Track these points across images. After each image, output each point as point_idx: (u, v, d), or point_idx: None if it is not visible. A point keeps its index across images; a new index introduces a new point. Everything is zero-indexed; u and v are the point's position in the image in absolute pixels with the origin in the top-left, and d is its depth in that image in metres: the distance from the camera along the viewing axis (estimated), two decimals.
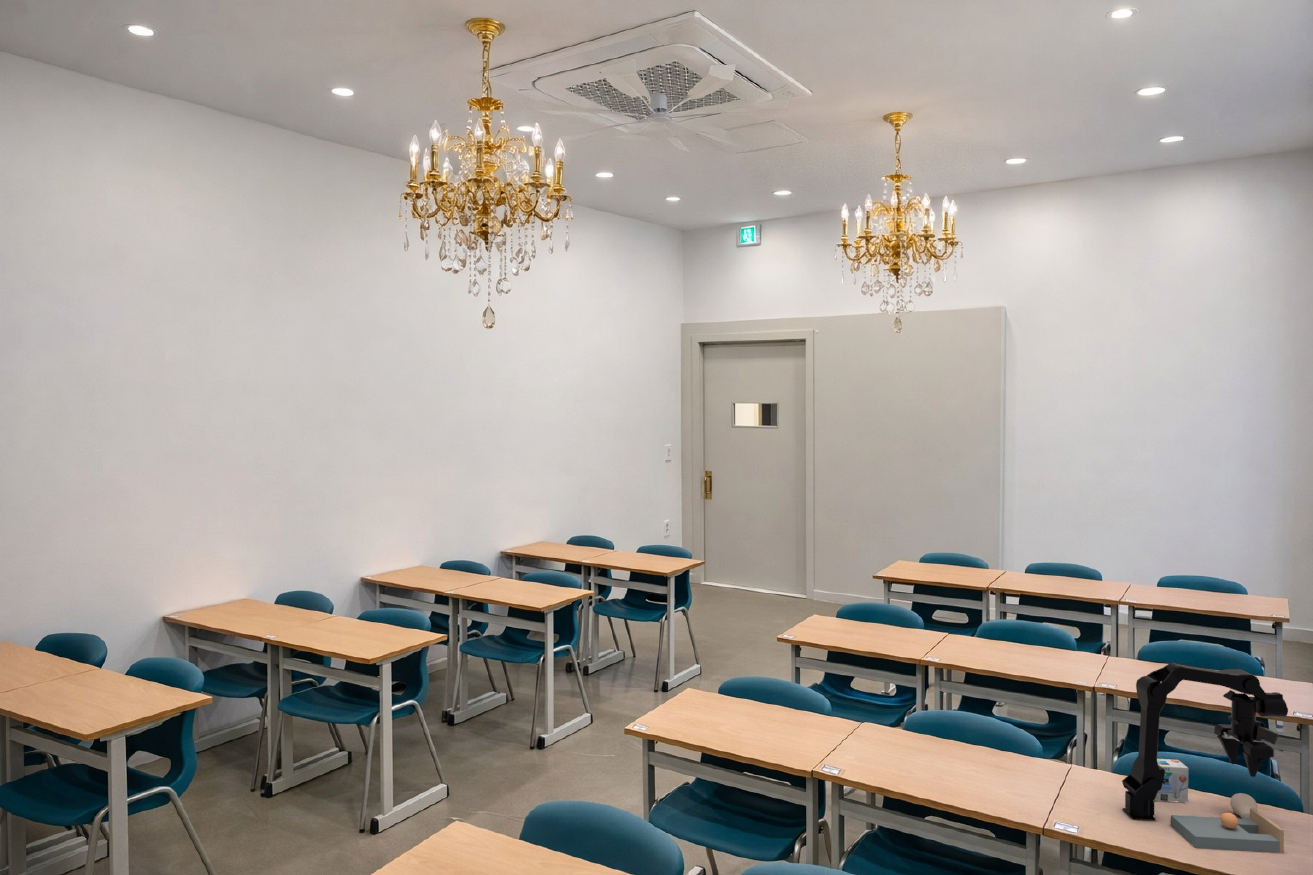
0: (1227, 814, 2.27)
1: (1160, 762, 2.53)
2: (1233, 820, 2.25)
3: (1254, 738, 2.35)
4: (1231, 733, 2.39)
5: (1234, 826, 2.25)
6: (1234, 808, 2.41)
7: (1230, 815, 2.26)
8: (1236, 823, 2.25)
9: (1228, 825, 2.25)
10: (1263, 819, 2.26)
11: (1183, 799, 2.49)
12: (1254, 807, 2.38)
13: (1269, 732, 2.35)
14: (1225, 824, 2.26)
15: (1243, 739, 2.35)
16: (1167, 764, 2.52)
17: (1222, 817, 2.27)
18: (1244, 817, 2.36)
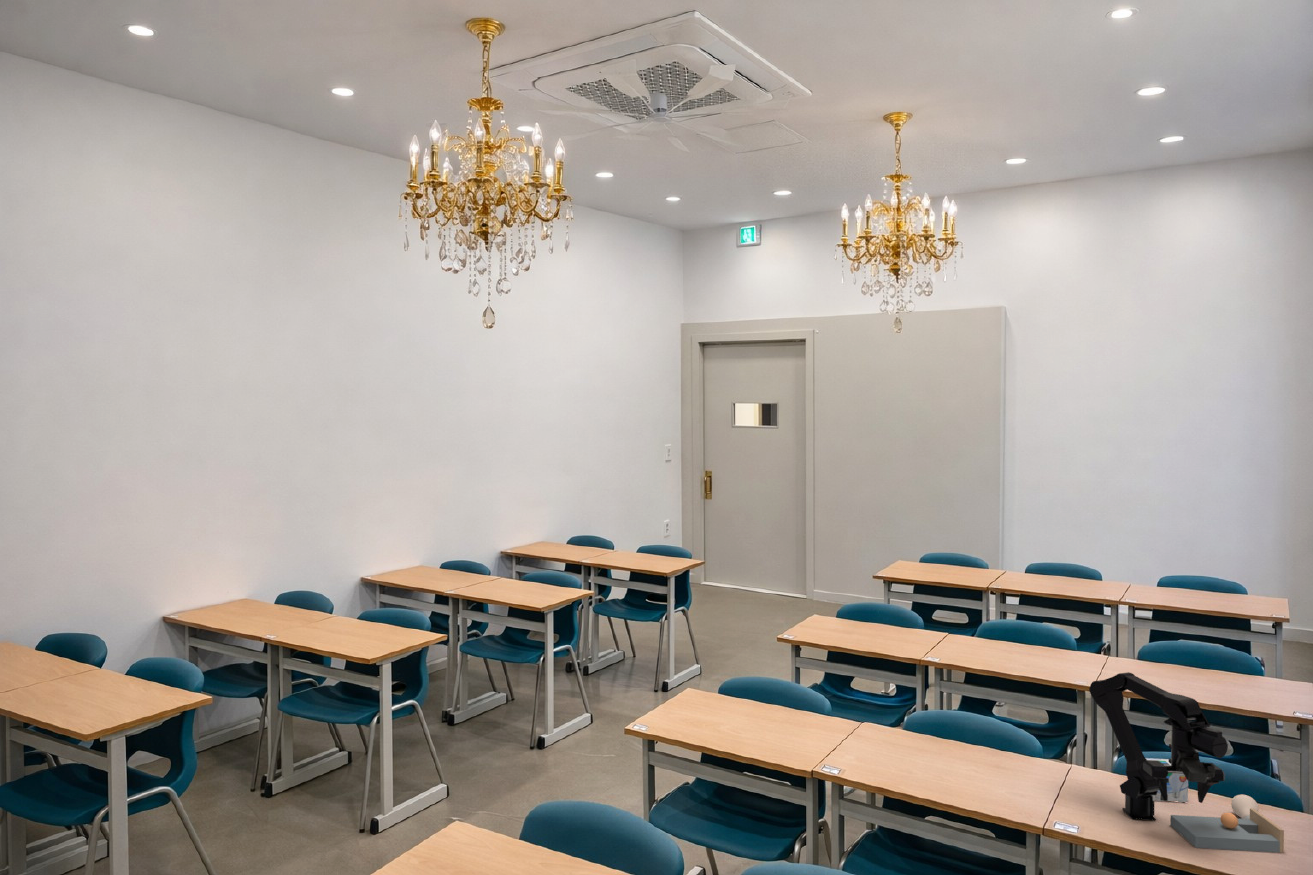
0: (1227, 814, 2.27)
1: None
2: (1233, 820, 2.25)
3: None
4: None
5: (1234, 826, 2.25)
6: (1235, 809, 2.40)
7: (1230, 815, 2.26)
8: (1236, 823, 2.25)
9: (1228, 825, 2.25)
10: (1263, 819, 2.26)
11: (1183, 799, 2.49)
12: (1255, 808, 2.37)
13: (1185, 765, 2.23)
14: (1225, 824, 2.26)
15: (1171, 764, 2.30)
16: (1167, 764, 2.52)
17: (1222, 817, 2.27)
18: None
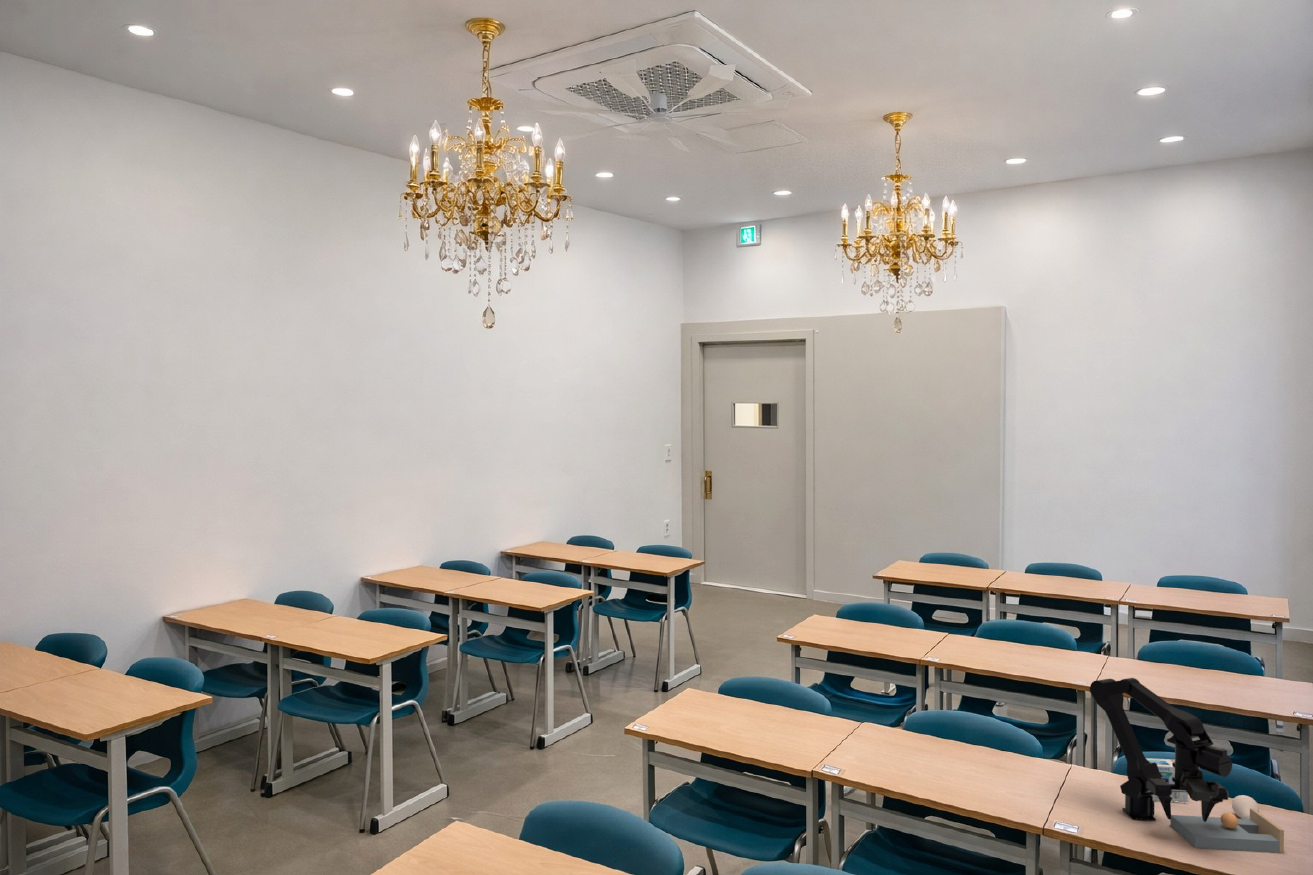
0: (1227, 814, 2.27)
1: (1160, 762, 2.53)
2: (1233, 820, 2.25)
3: None
4: None
5: (1234, 826, 2.25)
6: (1236, 810, 2.39)
7: (1230, 815, 2.26)
8: (1236, 823, 2.25)
9: (1228, 825, 2.25)
10: (1263, 819, 2.26)
11: (1183, 799, 2.49)
12: (1256, 809, 2.37)
13: (1188, 784, 2.23)
14: (1225, 824, 2.26)
15: None
16: (1167, 764, 2.52)
17: (1222, 817, 2.27)
18: None
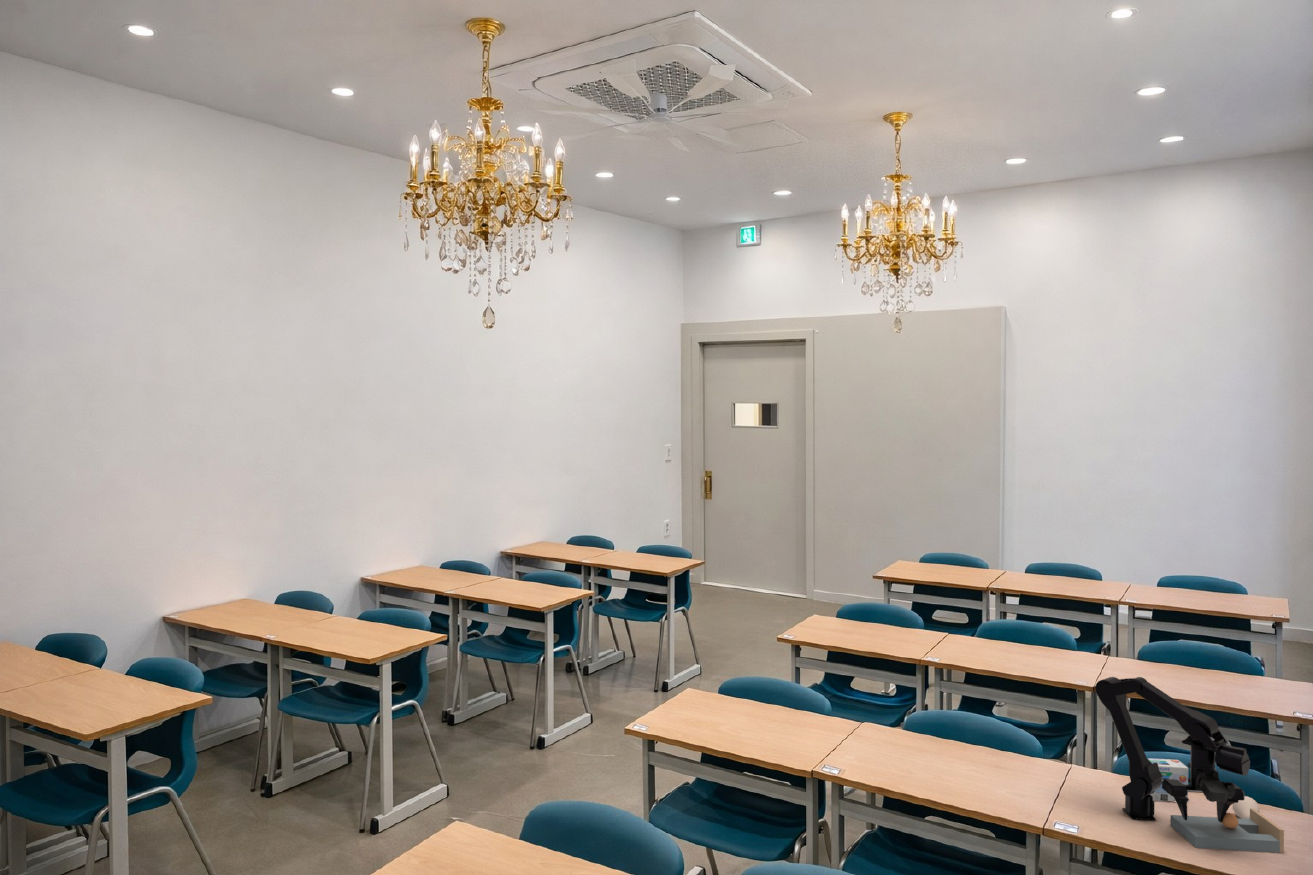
0: (1227, 814, 2.27)
1: (1160, 762, 2.53)
2: (1234, 820, 2.25)
3: None
4: None
5: (1234, 826, 2.25)
6: (1236, 811, 2.39)
7: (1230, 815, 2.26)
8: (1236, 823, 2.25)
9: (1229, 825, 2.25)
10: (1263, 819, 2.26)
11: None
12: (1256, 810, 2.36)
13: (1204, 785, 2.22)
14: (1225, 824, 2.26)
15: (1190, 783, 2.29)
16: (1167, 764, 2.52)
17: None
18: None
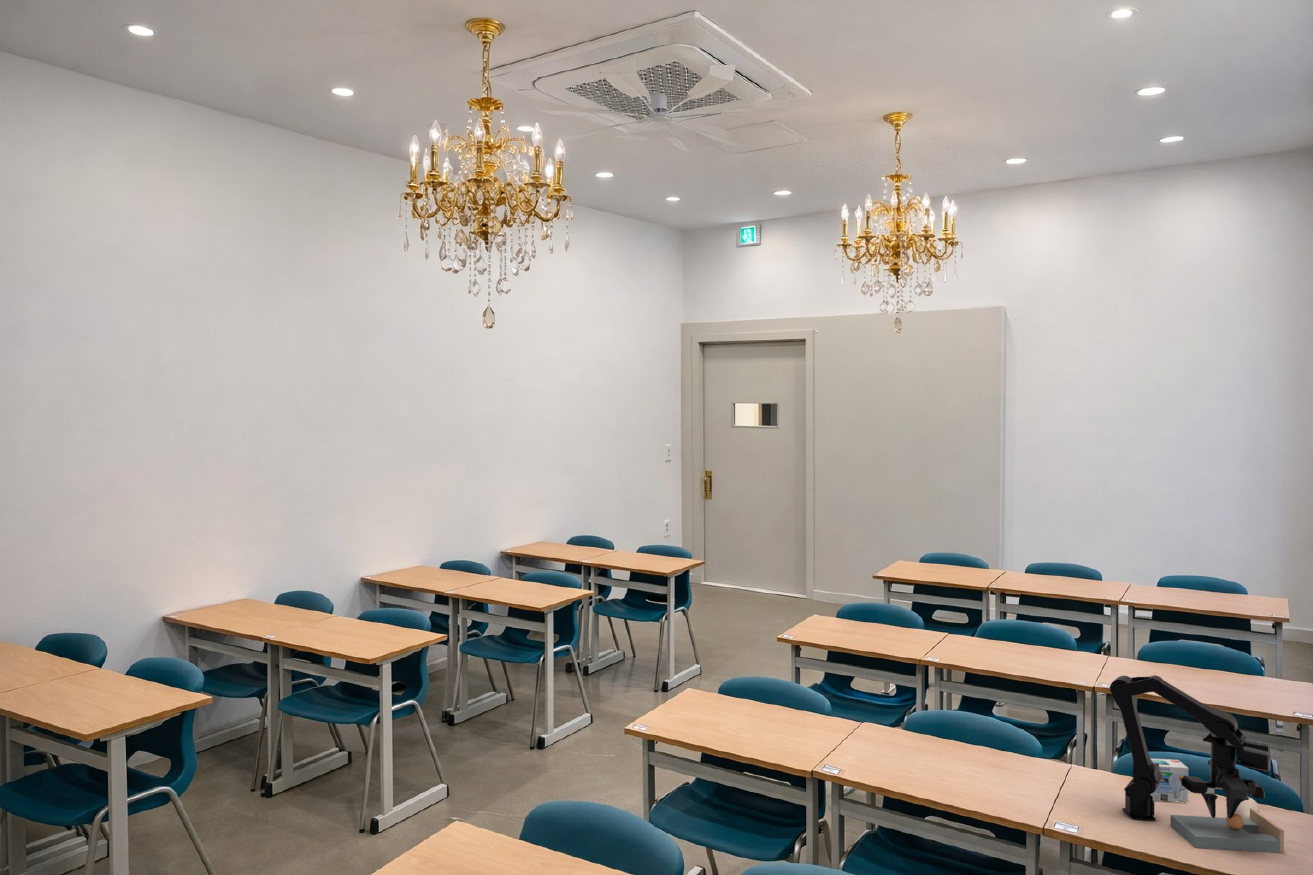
0: (1238, 815, 2.26)
1: (1160, 762, 2.53)
2: (1241, 822, 2.25)
3: None
4: None
5: (1237, 827, 2.25)
6: (1236, 811, 2.39)
7: (1240, 817, 2.26)
8: (1241, 826, 2.25)
9: (1233, 823, 2.25)
10: (1263, 819, 2.26)
11: (1183, 799, 2.49)
12: (1256, 810, 2.36)
13: (1225, 781, 2.22)
14: (1230, 820, 2.26)
15: (1210, 780, 2.29)
16: (1167, 764, 2.52)
17: None
18: None
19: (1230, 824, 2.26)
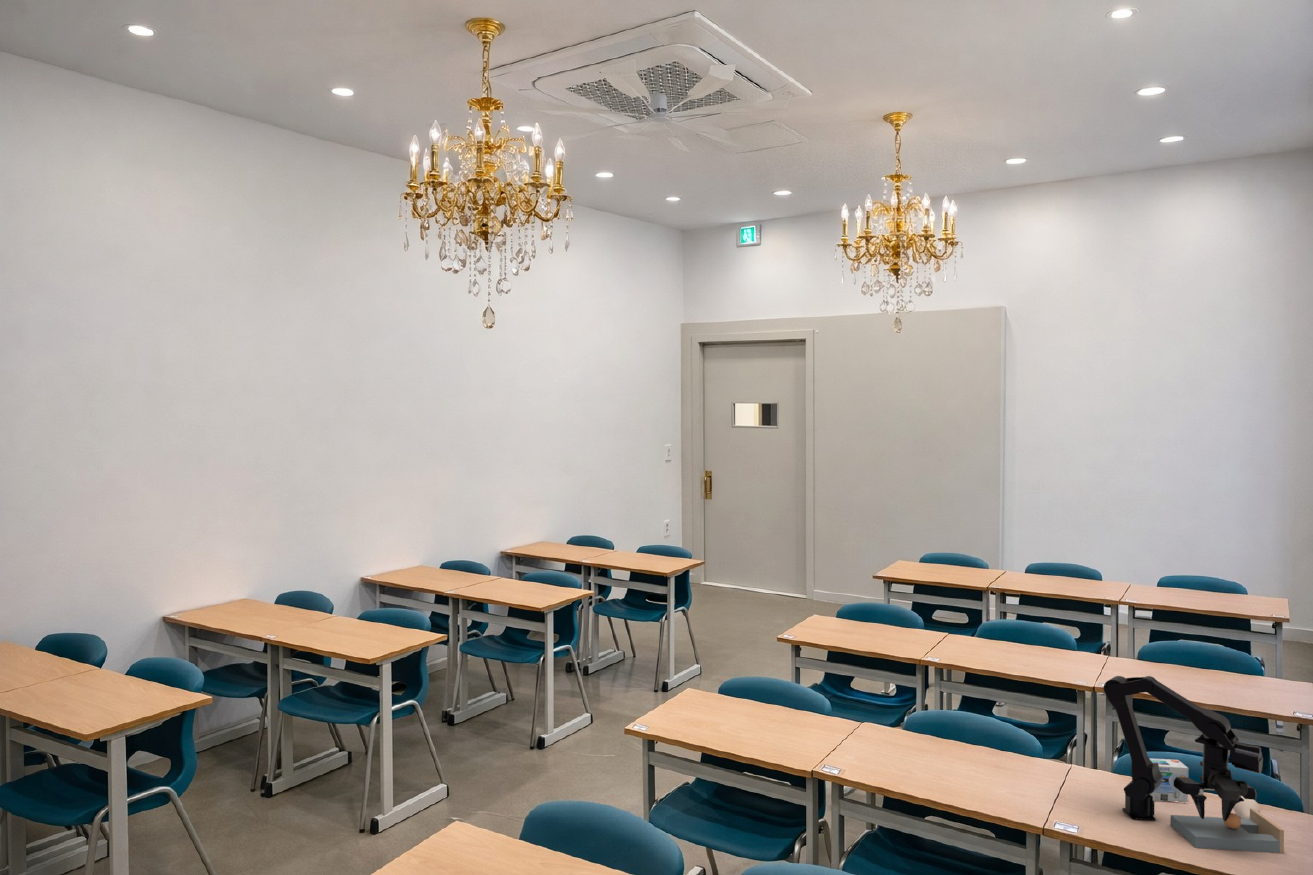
0: (1232, 814, 2.27)
1: (1160, 762, 2.53)
2: (1237, 821, 2.25)
3: None
4: None
5: (1236, 826, 2.25)
6: (1236, 811, 2.39)
7: (1235, 815, 2.26)
8: (1239, 824, 2.25)
9: (1230, 824, 2.25)
10: (1263, 819, 2.26)
11: (1183, 799, 2.49)
12: (1257, 810, 2.36)
13: (1217, 783, 2.22)
14: (1227, 822, 2.26)
15: (1202, 781, 2.29)
16: (1167, 764, 2.52)
17: None
18: None
19: (1228, 826, 2.26)
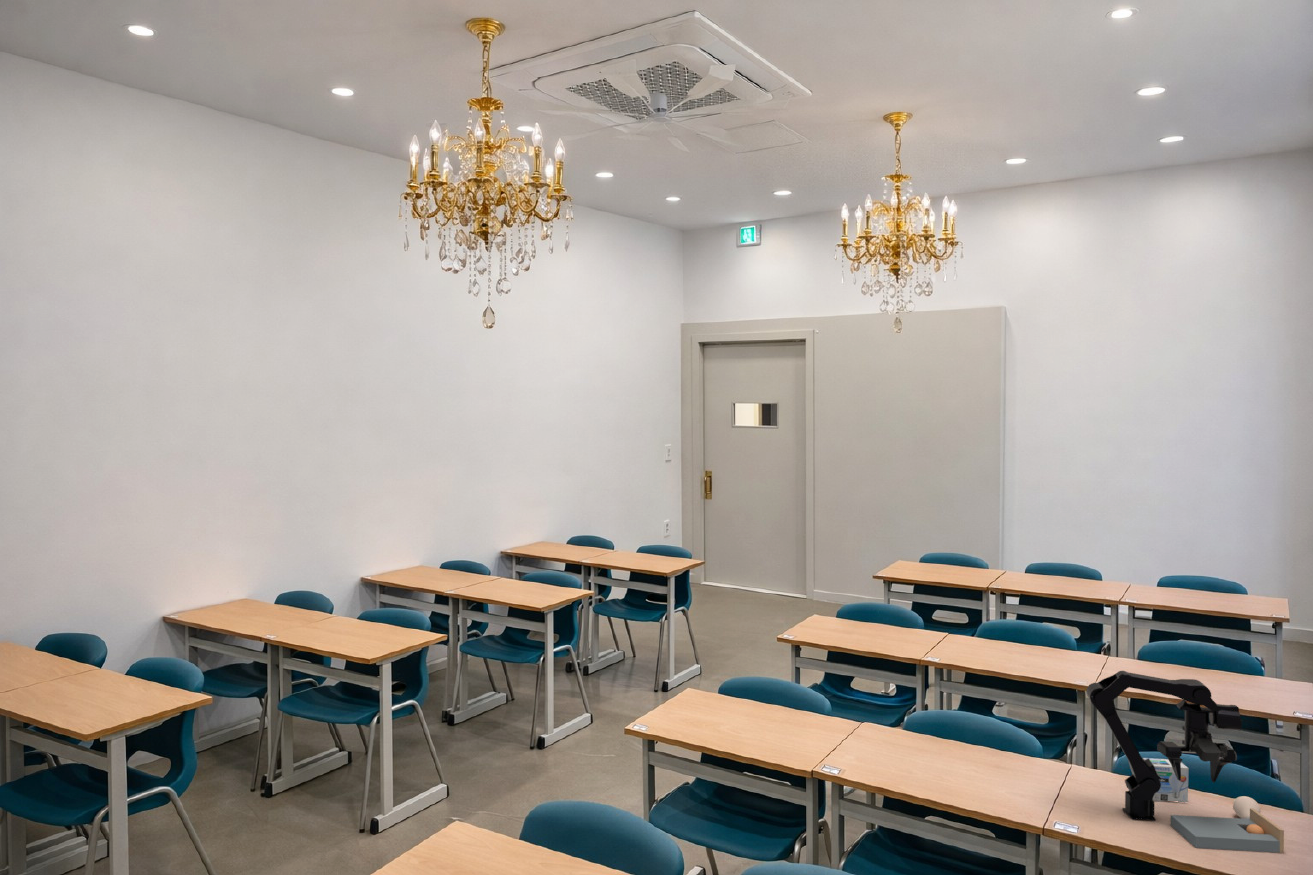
0: None
1: (1160, 762, 2.53)
2: None
3: None
4: None
5: (1261, 833, 2.25)
6: (1236, 811, 2.39)
7: None
8: (1257, 833, 2.25)
9: None
10: (1263, 819, 2.26)
11: (1183, 799, 2.49)
12: (1257, 810, 2.36)
13: (1198, 745, 2.31)
14: None
15: None
16: (1167, 764, 2.52)
17: None
18: None
19: None
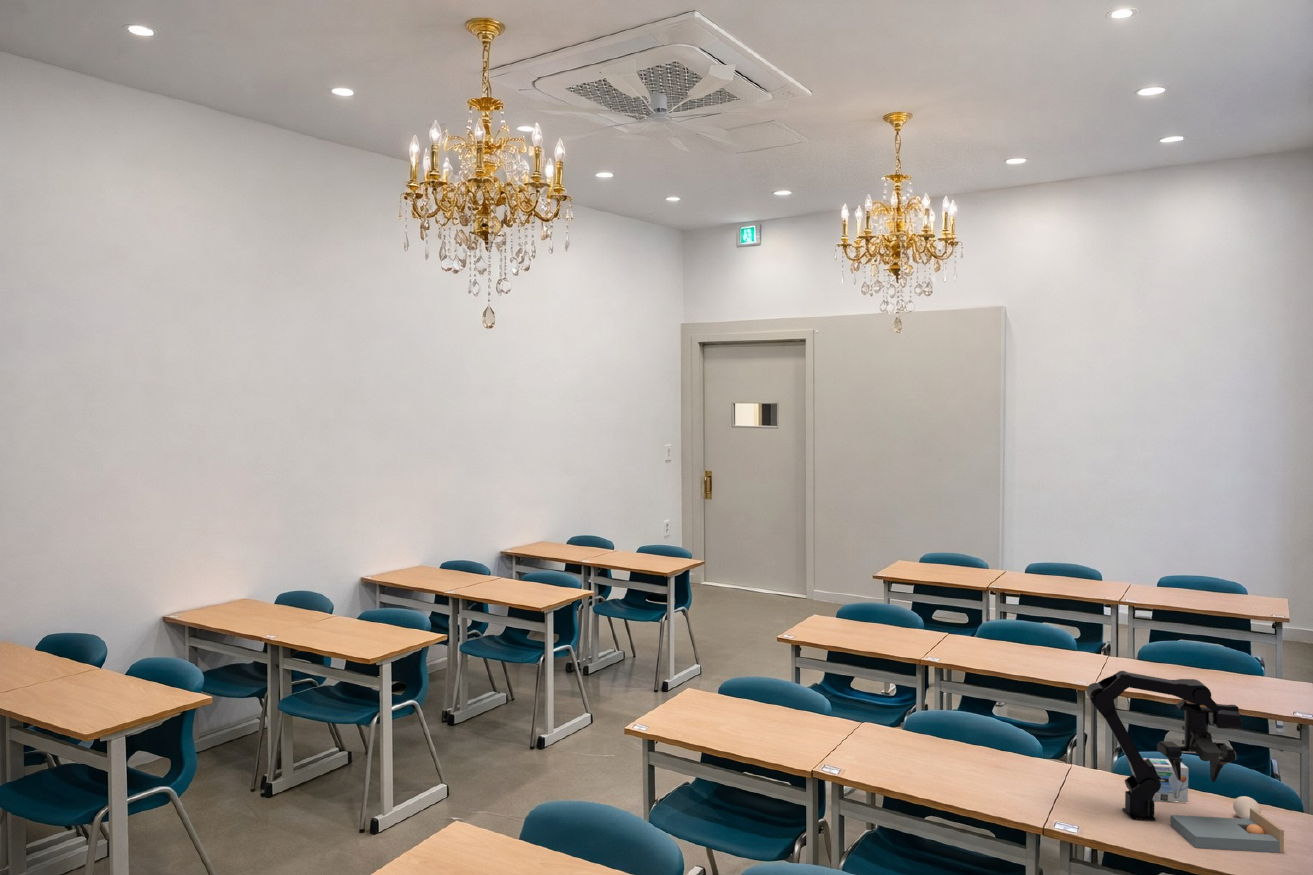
0: None
1: (1160, 762, 2.53)
2: None
3: None
4: None
5: (1261, 833, 2.25)
6: (1236, 811, 2.39)
7: None
8: (1257, 833, 2.25)
9: None
10: (1263, 819, 2.26)
11: (1183, 799, 2.49)
12: (1257, 810, 2.36)
13: (1198, 745, 2.31)
14: None
15: (1184, 744, 2.38)
16: (1167, 764, 2.52)
17: None
18: None
19: None
